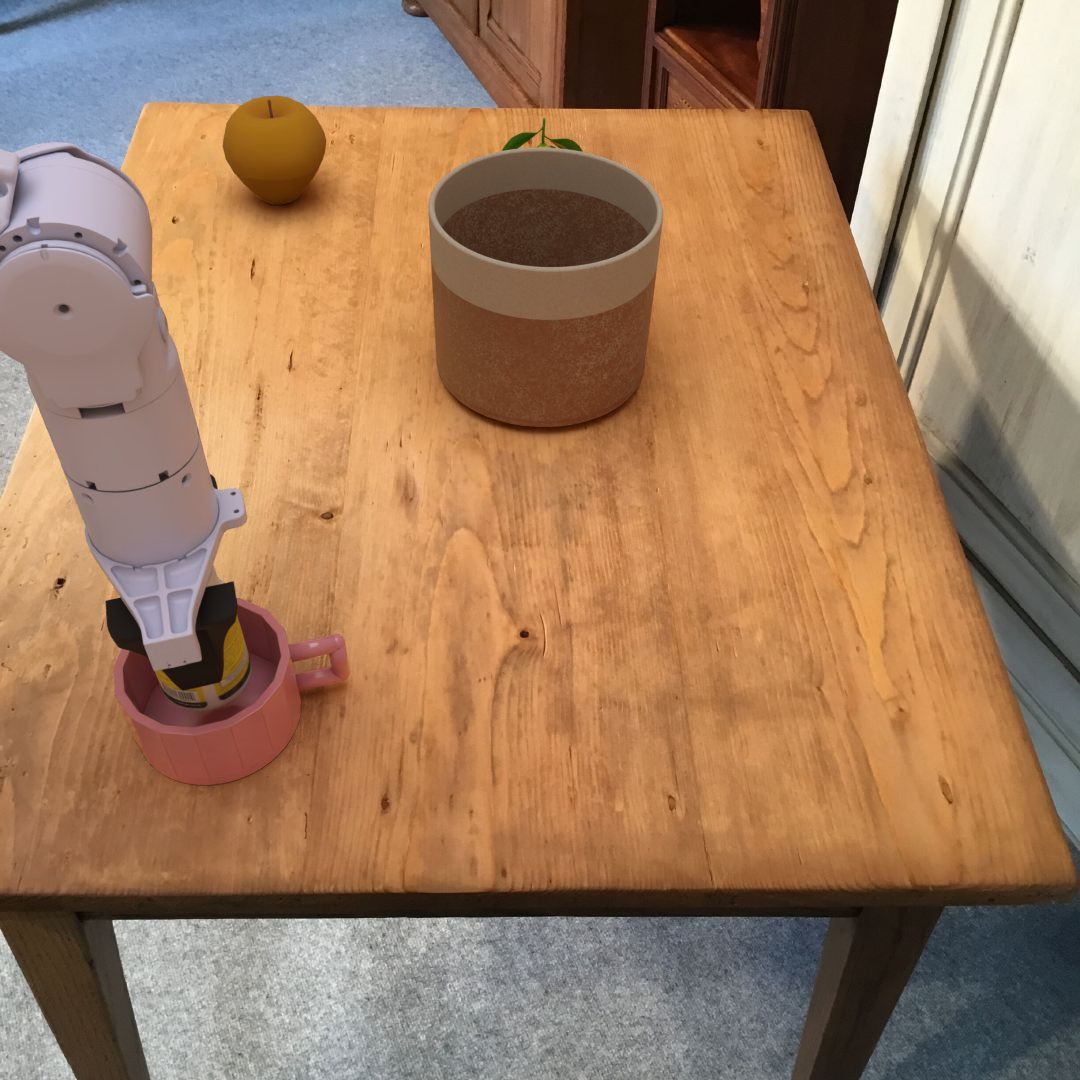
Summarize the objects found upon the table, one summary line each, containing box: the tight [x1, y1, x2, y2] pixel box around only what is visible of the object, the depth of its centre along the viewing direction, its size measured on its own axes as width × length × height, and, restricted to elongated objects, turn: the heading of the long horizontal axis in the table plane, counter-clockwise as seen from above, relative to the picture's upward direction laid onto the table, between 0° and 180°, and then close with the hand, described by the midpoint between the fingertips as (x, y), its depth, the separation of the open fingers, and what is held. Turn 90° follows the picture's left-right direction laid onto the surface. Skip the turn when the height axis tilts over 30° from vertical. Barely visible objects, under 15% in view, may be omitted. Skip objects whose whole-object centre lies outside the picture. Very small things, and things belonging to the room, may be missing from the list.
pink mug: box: [112, 597, 351, 786], centre depth 60 cm, size 12×9×5 cm
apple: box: [222, 95, 327, 206], centre depth 96 cm, size 9×9×9 cm
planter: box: [427, 147, 664, 428], centre depth 78 cm, size 16×16×14 cm
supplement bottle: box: [155, 564, 252, 712], centre depth 55 cm, size 5×5×8 cm
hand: (195, 641), depth 56 cm, fingers closed on supplement bottle, 5 cm apart
